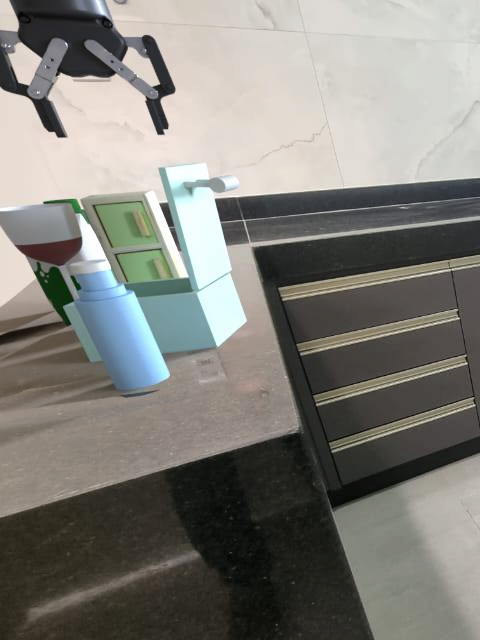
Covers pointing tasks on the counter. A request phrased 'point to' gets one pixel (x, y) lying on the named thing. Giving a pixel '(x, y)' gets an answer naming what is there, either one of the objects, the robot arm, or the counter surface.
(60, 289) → the milk carton
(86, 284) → the water bottle
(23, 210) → the wineglass
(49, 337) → the counter surface
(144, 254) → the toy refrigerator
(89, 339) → the box
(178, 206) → the lid
